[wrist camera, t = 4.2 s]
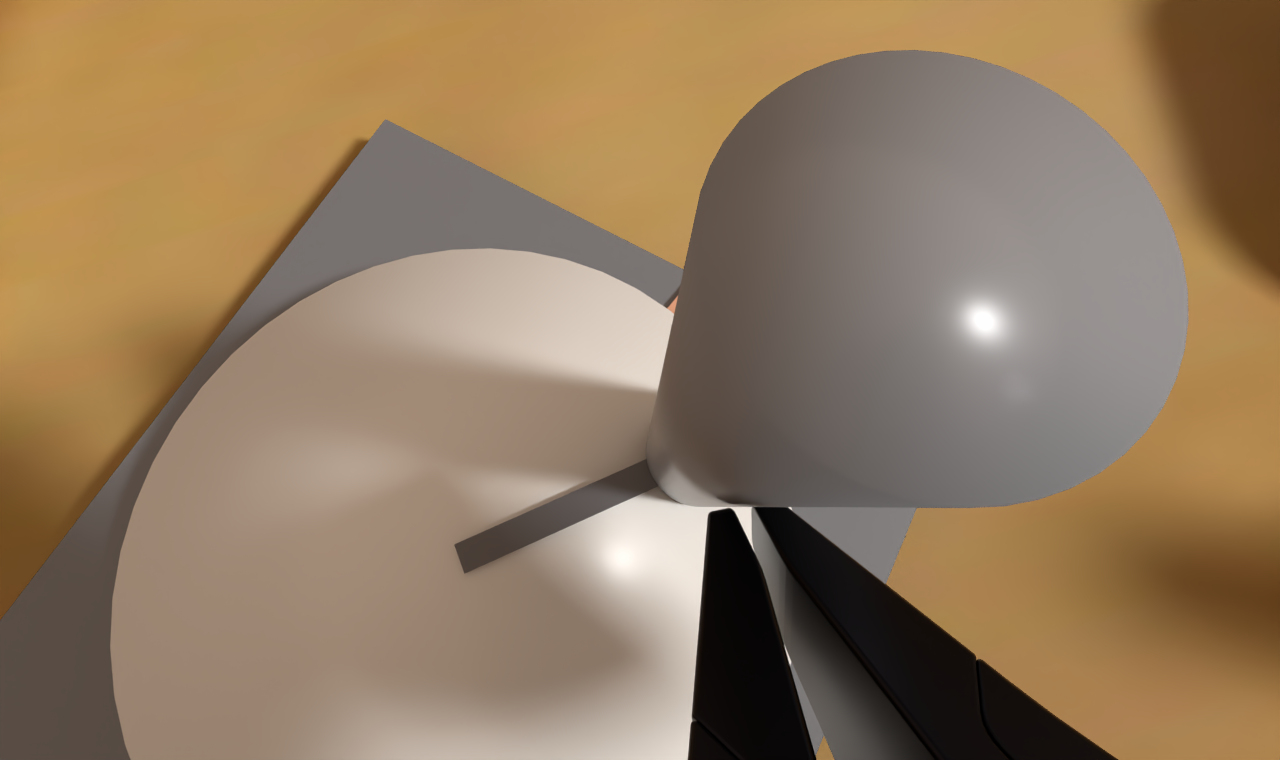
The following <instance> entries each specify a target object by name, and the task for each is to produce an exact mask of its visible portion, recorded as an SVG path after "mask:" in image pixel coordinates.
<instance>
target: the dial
mask: <svg viewBox="0 0 1280 760" xmlns="http://www.w3.org/2000/svg"><path fill="white" fill-rule="evenodd" d="M1187 327H1188V290H1187V283H1186V277H1185V271H1184V265H1183V260H1182V256H1181V253H1180V250H1179V247H1178V243H1177V240H1176V237H1175V233H1174V231H1173V228H1172V226H1171V224H1170V222H1169V219H1168V217H1167V215H1166V213H1165V210H1164V208H1163V206H1162V204H1161V202H1160V200H1159V199H1158V197H1157V195H1156V194H1155V192H1154V190H1153V189H1152V187H1151V185H1150V184H1149V182H1148V180H1147V179H1146V177H1145V176H1144V174H1143V173H1142V172H1141V170H1140V169H1139V168H1138V167H1137V165H1136V164H1135V163H1134V161H1133V160H1132V159H1131V157H1130V156H1129V155H1128V153H1127V152H1126V151H1125V150H1124V149H1123V148H1122V147H1121V146H1120V145H1119V144H1118V143H1117V142H1116V141H1115V140H1114V139H1113V138H1112V137H1111V136H1110V134H1109V133H1108V132H1107V131H1106V130H1105V129H1103V128H1102V127H1101V126H1100V125H1099V124H1097V123H1096V122H1095V121H1094V120H1093V119H1092V118H1090V117H1089V116H1088V115H1087V114H1086V113H1084V112H1083V111H1082V110H1081V109H1079V108H1078V107H1076V106H1075V105H1073V104H1072V103H1070V102H1069V101H1067V100H1066V99H1064V98H1063V97H1062V96H1060V95H1059V94H1057V93H1056V92H1054V91H1052V90H1050V89H1048V88H1046V87H1044V86H1043V85H1041V84H1039V83H1037V82H1035V81H1033V80H1031V79H1030V78H1027V77H1025V76H1022V75H1020V74H1018V73H1015V72H1013V71H1010V70H1008V69H1006V68H1003V67H1001V66H997V65H994V64H991V63H987V62H984V61H981V60H977V59H974V58H969V57H964V56H959V55H954V54H948V53H943V52H930V51H918V50H902V51H882V52H874V53H867V54H860V55H855V56H851V57H847V58H844V59H840V60H836V61H832V62H829V63H827V64H824V65H822V66H819V67H817V68H814V69H812V70H809V71H806V72H804V73H802V74H801V75H799V76H797V77H795V78H793V79H792V80H790V81H788V82H786V83H784V84H783V85H781V86H779V87H778V88H777V89H775V90H774V91H773V92H771V93H770V94H769V95H767V96H766V97H765V98H763V99H762V100H761V101H759V102H758V103H757V104H756V105H755V106H754V107H753V108H752V109H751V110H750V111H749V112H748V113H747V114H746V115H745V116H744V117H743V118H742V119H741V120H740V121H739V122H738V124H737V125H736V126H735V128H734V129H733V130H732V132H731V133H730V134H729V135H728V137H727V138H726V139H725V141H724V142H723V144H722V146H721V147H720V149H719V151H718V153H717V155H716V156H715V158H714V160H713V162H712V164H711V165H710V168H709V171H708V173H707V176H706V179H705V181H704V184H703V187H702V189H701V192H700V197H699V201H698V206H697V210H696V215H695V220H694V224H693V229H692V233H691V238H690V243H689V247H688V252H687V257H686V261H685V266H684V271H683V275H682V280H681V285H680V289H679V294H678V298H677V303H676V308H675V312H674V314H673V313H672V312H671V311H670V310H669V309H667V308H666V307H664V306H662V305H661V304H659V303H658V302H656V301H655V300H653V299H652V298H650V297H649V296H647V295H646V294H644V293H643V292H641V291H640V290H638V289H636V288H634V287H632V286H630V285H628V284H626V283H624V282H622V281H620V280H618V279H616V278H614V277H612V276H610V275H608V274H606V273H604V272H601V271H598V270H596V269H593V268H590V267H587V266H584V265H581V264H578V263H575V262H572V261H569V260H566V259H562V258H557V257H552V256H547V255H543V254H538V253H533V252H527V251H516V250H504V249H492V248H486V249H458V250H446V251H440V252H433V253H427V254H420V255H414V256H410V257H406V258H402V259H399V260H395V261H392V262H388V263H384V264H381V265H377V266H374V267H371V268H369V269H366V270H364V271H361V272H359V273H356V274H354V275H351V276H349V277H346V278H344V279H341V280H339V281H336V282H334V283H333V284H331V285H329V286H327V287H325V288H323V289H321V290H320V291H318V292H316V293H314V294H312V295H310V296H308V297H307V298H305V299H303V300H301V301H299V302H298V303H296V304H295V305H294V306H292V307H291V308H289V309H288V310H286V311H285V312H283V313H282V314H281V315H279V316H278V317H276V318H275V319H273V320H272V321H270V322H269V323H268V324H266V325H265V326H264V327H262V328H261V329H260V330H259V331H258V332H257V333H256V334H254V335H253V336H252V337H251V338H250V339H249V340H247V341H246V342H245V343H244V344H243V345H242V346H241V347H239V348H238V349H237V350H236V351H235V352H234V353H233V354H232V355H231V356H230V357H229V358H228V359H227V360H226V361H225V362H224V363H223V364H222V365H221V367H220V368H219V369H218V370H217V371H216V372H215V373H214V374H213V375H212V376H211V377H210V378H209V380H208V381H207V382H206V383H205V384H204V385H203V386H202V387H201V389H200V390H199V391H198V393H197V394H196V396H195V397H194V398H193V400H192V401H191V402H190V404H189V405H188V406H187V408H186V409H185V411H184V412H183V413H182V415H181V416H180V417H179V419H178V420H177V421H176V423H175V425H174V426H173V428H172V430H171V432H170V433H169V435H168V437H167V439H166V440H165V442H164V444H163V446H162V447H161V449H160V451H159V453H158V454H157V456H156V458H155V460H154V461H153V463H152V465H151V468H150V470H149V472H148V475H147V477H146V479H145V482H144V484H143V486H142V489H141V491H140V493H139V496H138V498H137V500H136V503H135V505H134V508H133V511H132V515H131V518H130V521H129V525H128V528H127V531H126V535H125V538H124V541H123V545H122V548H121V551H120V557H119V563H118V569H117V575H116V581H115V586H114V592H113V598H112V618H111V640H110V651H111V663H112V675H113V687H114V697H115V702H116V706H117V711H118V715H119V720H120V724H121V729H122V733H123V738H124V742H125V746H126V749H127V751H128V754H129V757H130V759H131V760H688V750H689V737H690V725H691V722H692V704H693V692H694V679H695V667H696V655H697V642H698V630H699V617H700V605H701V592H702V580H703V568H704V555H705V543H706V530H707V518H708V514H709V513H710V512H711V511H716V510H721V509H726V508H731V509H733V510H734V511H735V513H736V515H737V517H738V519H739V521H740V523H741V525H742V527H743V529H744V532H745V534H746V536H747V538H748V540H749V542H750V544H751V546H752V548H753V543H752V520H751V509H752V507H788V508H789V509H791V510H792V508H791V507H869V508H976V507H997V506H1008V505H1013V504H1018V503H1024V502H1029V501H1034V500H1039V499H1042V498H1045V497H1047V496H1050V495H1053V494H1056V493H1059V492H1062V491H1065V490H1068V489H1070V488H1072V487H1074V486H1076V485H1078V484H1080V483H1082V482H1084V481H1085V480H1087V479H1089V478H1091V477H1093V476H1095V475H1097V474H1099V473H1100V472H1101V471H1103V470H1104V469H1105V468H1107V467H1108V466H1109V465H1111V464H1112V463H1113V462H1115V461H1116V460H1117V459H1119V458H1120V457H1121V456H1123V455H1124V454H1125V453H1126V452H1127V451H1128V450H1129V449H1130V448H1131V447H1132V446H1133V445H1134V444H1135V443H1136V442H1137V441H1138V440H1139V439H1140V438H1141V436H1142V435H1143V434H1144V433H1145V432H1146V431H1147V430H1148V428H1149V427H1150V425H1151V424H1152V422H1153V421H1154V419H1155V418H1156V417H1157V415H1158V414H1159V412H1160V411H1161V409H1162V408H1163V406H1164V404H1165V402H1166V400H1167V398H1168V396H1169V393H1170V391H1171V389H1172V387H1173V385H1174V383H1175V381H1176V378H1177V375H1178V371H1179V368H1180V364H1181V361H1182V357H1183V354H1184V350H1185V343H1186V335H1187ZM753 550H754V548H753ZM784 646H785V645H784ZM785 650H786V647H785ZM786 653H787V657H788V660H789V664H790V665H791V660H790V657H789V655H788V652H787V650H786Z"/></svg>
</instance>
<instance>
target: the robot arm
mask: <svg viewBox="0 0 1280 760" xmlns="http://www.w3.org/2000/svg"><path fill="white" fill-rule="evenodd" d="M751 520H752V543H753V548H754V550H753V548H752V546H751V544H750V542H749V540H748V538H747V536H746V534H745V532H744V529H743V527H742V525H741V523H740V521H739V519H738V517H737V515H736V513H735V511H734V510H733V509H731V508H726V509H721V510H716V511H711V512H710V513H709V514H708V518H707V530H706V543H705V555H704V568H703V580H702V592H701V605H700V617H699V630H698V642H697V655H696V667H695V679H694V692H693V704H692V722H691V725H690V737H689V750H688V760H816V756H815V753H814V749H813V745H812V742H811V738H810V735H809V731H808V728H807V724H806V721H805V717H804V713H803V710H802V706H801V703H800V699H799V696H798V692H797V689H796V685H795V682H794V678H793V674H792V671H791V667H790V664H789V660H788V657H787V653H786V650H787V652H788V655H789V657H790V660H791V662H792V664H793V666H794V669H795V671H796V673H797V675H798V678H799V680H800V682H801V684H802V687H803V689H804V691H805V693H806V696H807V698H808V700H809V702H810V705H811V707H812V709H813V711H814V714H815V716H816V718H817V720H818V723H819V725H820V727H821V729H822V732H823V734H824V736H825V739H826V741H827V743H828V745H829V748H830V750H831V752H832V754H833V757H834V759H835V760H1118V759H1116V758H1115V757H1114V756H1112V755H1111V754H1109V753H1108V752H1106V751H1105V750H1103V749H1102V748H1100V747H1099V746H1098V745H1096V744H1095V743H1093V742H1092V741H1090V740H1089V739H1088V738H1086V737H1085V736H1083V735H1082V734H1080V733H1079V732H1078V731H1076V730H1075V729H1073V728H1072V727H1070V726H1069V725H1068V724H1066V723H1065V722H1063V721H1062V720H1060V719H1059V718H1058V717H1056V716H1055V715H1053V714H1052V713H1051V712H1049V711H1048V710H1047V709H1045V708H1044V707H1043V706H1041V705H1040V704H1039V703H1038V702H1036V701H1035V700H1034V699H1032V698H1031V697H1030V696H1028V695H1027V694H1026V693H1024V692H1023V691H1022V690H1020V689H1019V688H1018V687H1016V686H1015V685H1014V684H1012V683H1011V682H1010V681H1008V680H1007V679H1006V678H1005V677H1003V676H1002V675H1001V674H1000V673H998V672H997V671H996V670H994V669H993V668H992V667H991V666H989V665H988V664H987V663H986V662H984V661H983V660H981V659H978V660H977V661H976V656H975V654H974V653H973V652H971V651H970V650H969V649H967V648H966V647H965V646H964V645H962V644H961V643H960V642H959V641H957V640H956V639H955V638H953V637H952V636H951V635H950V634H948V633H947V632H946V631H945V630H943V629H942V628H941V627H939V626H938V625H937V624H936V623H934V622H933V621H932V620H931V619H929V618H928V617H927V616H925V615H924V614H923V613H922V612H920V611H919V610H918V609H917V608H915V607H914V606H913V605H911V604H910V603H909V602H908V601H906V600H905V599H904V598H903V597H901V596H900V595H899V594H898V593H896V592H895V591H894V590H892V589H891V588H890V587H889V586H887V585H886V584H885V583H884V582H882V581H881V580H880V579H878V578H877V577H876V576H875V575H873V574H872V573H871V572H870V571H868V570H867V569H866V568H864V567H863V566H862V565H861V564H859V563H858V562H857V561H856V560H854V559H853V558H852V557H850V556H849V555H848V554H847V553H845V552H844V551H843V550H842V549H840V548H839V547H838V546H836V545H835V544H834V543H833V542H831V541H830V540H829V539H828V538H826V537H825V536H824V535H823V534H821V533H820V532H819V531H817V530H816V529H815V528H814V527H812V526H811V525H810V524H809V523H807V522H806V521H805V520H803V519H802V518H801V517H800V516H798V515H797V514H796V513H795V512H793V511H792V510H791V509H789V508H788V507H752V509H751ZM784 645H785V646H784ZM785 647H786V650H785Z"/></svg>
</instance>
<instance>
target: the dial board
mask: <svg viewBox="0 0 1280 760" xmlns="http://www.w3.org/2000/svg"><path fill="white" fill-rule="evenodd" d="M486 248H492V249H504V250H516V251H527V252H533V253H538V254H543V255H547V256H552V257H557V258H562V259H566V260H569V261H572V262H575V263H578V264H581V265H584V266H587V267H590V268H593V269H596V270H598V271H601V272H604V273H606V274H608V275H610V276H612V277H614V278H616V279H618V280H620V281H622V282H624V283H626V284H628V285H630V286H632V287H634V288H636V289H638V290H640V291H641V292H643V293H644V294H646V295H647V296H649V297H650V298H652V299H653V300H655V301H656V302H658V303H659V304H661V305H662V306H664V307H666V308H667V309H669V310H670V311H671V312H672V313H673V314H674V312H675V308H676V303H677V298H678V294H679V289H680V285H681V280H682V275H683V271H684V270H683V269H681V268H679V267H677V266H675V265H673V264H671V263H669V262H667V261H665V260H663V259H662V258H660V257H658V256H656V255H654V254H652V253H650V252H648V251H646V250H644V249H642V248H640V247H638V246H636V245H634V244H632V243H630V242H628V241H626V240H624V239H622V238H620V237H618V236H616V235H614V234H612V233H610V232H608V231H606V230H604V229H602V228H600V227H598V226H596V225H594V224H592V223H590V222H588V221H586V220H584V219H582V218H580V217H578V216H576V215H574V214H572V213H570V212H568V211H566V210H564V209H562V208H560V207H558V206H556V205H554V204H552V203H550V202H548V201H546V200H544V199H542V198H540V197H538V196H537V195H535V194H533V193H531V192H529V191H527V190H525V189H523V188H521V187H519V186H517V185H515V184H513V183H511V182H509V181H507V180H505V179H503V178H501V177H499V176H497V175H495V174H493V173H491V172H489V171H487V170H485V169H483V168H481V167H479V166H477V165H475V164H473V163H471V162H469V161H467V160H465V159H463V158H461V157H459V156H457V155H455V154H453V153H451V152H449V151H447V150H445V149H443V148H441V147H439V146H437V145H435V144H433V143H431V142H429V141H427V140H425V139H423V138H421V137H419V136H417V135H415V134H413V133H411V132H410V131H408V130H406V129H404V128H402V127H400V126H398V125H396V124H394V123H392V122H390V121H388V120H386V119H385V120H384V122H383V123H382V124H381V126H380V127H379V128H378V130H377V131H376V132H375V133H374V135H373V136H372V137H371V139H370V140H369V141H368V143H367V144H366V145H365V146H364V148H363V149H362V150H361V152H360V153H359V154H358V156H357V157H356V158H355V159H354V161H353V162H352V163H351V165H350V166H349V167H348V169H347V170H346V171H345V172H344V174H343V175H342V176H341V178H340V179H339V180H338V182H337V183H336V184H335V185H334V187H333V188H332V189H331V191H330V192H329V193H328V195H327V196H326V197H325V198H324V200H323V201H322V202H321V204H320V205H319V206H318V208H317V209H316V210H315V211H314V213H313V214H312V215H311V217H310V218H309V219H308V221H307V222H306V223H305V225H304V226H303V227H302V228H301V230H300V231H299V232H298V234H297V235H296V236H295V238H294V239H293V240H292V241H291V243H290V244H289V245H288V247H287V248H286V249H285V251H284V252H283V253H282V254H281V256H280V257H279V258H278V260H277V261H276V262H275V264H274V265H273V266H272V267H271V269H270V270H269V271H268V273H267V274H266V275H265V277H264V278H263V279H262V280H261V282H260V283H259V284H258V286H257V287H256V288H255V290H254V291H253V292H252V293H251V295H250V296H249V297H248V299H247V300H246V301H245V303H244V304H243V305H242V306H241V308H240V309H239V310H238V312H237V313H236V314H235V316H234V317H233V318H232V320H231V321H230V322H229V323H228V325H227V326H226V327H225V329H224V330H223V331H222V333H221V334H220V335H219V336H218V338H217V339H216V340H215V342H214V343H213V344H212V346H211V347H210V348H209V349H208V351H207V352H206V353H205V355H204V356H203V357H202V359H201V360H200V361H199V362H198V364H197V365H196V366H195V368H194V369H193V370H192V372H191V373H190V374H189V375H188V377H187V378H186V379H185V381H184V382H183V383H182V385H181V386H180V387H179V388H178V390H177V391H176V392H175V394H174V395H173V396H172V398H171V399H170V400H169V401H168V403H167V404H166V405H165V407H164V408H163V409H162V411H161V412H160V413H159V415H158V416H157V417H156V418H155V420H154V421H153V422H152V424H151V425H150V426H149V428H148V429H147V430H146V431H145V433H144V434H143V435H142V437H141V438H140V439H139V441H138V442H137V443H136V444H135V446H134V447H133V448H132V450H131V451H130V452H129V454H128V455H127V456H126V457H125V459H124V460H123V461H122V463H121V464H120V465H119V467H118V468H117V469H116V470H115V472H114V473H113V474H112V476H111V477H110V478H109V480H108V481H107V482H106V483H105V485H104V486H103V487H102V489H101V490H100V491H99V493H98V494H97V495H96V496H95V498H94V499H93V500H92V502H91V503H90V504H89V506H88V507H87V508H86V510H85V511H84V512H83V513H82V515H81V516H80V517H79V519H78V520H77V521H76V523H75V524H74V525H73V526H72V528H71V529H70V530H69V532H68V533H67V534H66V536H65V537H64V538H63V539H62V541H61V542H60V543H59V545H58V546H57V547H56V549H55V550H54V551H53V552H52V554H51V555H50V556H49V558H48V559H47V560H46V562H45V563H44V564H43V565H42V567H41V568H40V569H39V571H38V572H37V573H36V575H35V576H34V577H33V578H32V580H31V581H30V582H29V584H28V585H27V586H26V588H25V589H24V590H23V591H22V593H21V594H20V595H19V597H18V598H17V599H16V601H15V602H14V603H13V605H12V606H11V607H10V608H9V610H8V611H7V612H6V614H5V615H4V616H3V618H2V619H1V620H0V760H131V759H130V757H129V754H128V751H127V749H126V746H125V742H124V738H123V733H122V729H121V724H120V720H119V715H118V711H117V706H116V702H115V697H114V687H113V675H112V663H111V651H110V640H111V618H112V598H113V592H114V586H115V581H116V575H117V569H118V563H119V557H120V551H121V548H122V545H123V541H124V538H125V535H126V531H127V528H128V525H129V521H130V518H131V515H132V511H133V508H134V505H135V503H136V500H137V498H138V496H139V493H140V491H141V489H142V486H143V484H144V482H145V479H146V477H147V475H148V472H149V470H150V468H151V465H152V463H153V461H154V460H155V458H156V456H157V454H158V453H159V451H160V449H161V447H162V446H163V444H164V442H165V440H166V439H167V437H168V435H169V433H170V432H171V430H172V428H173V426H174V425H175V423H176V421H177V420H178V419H179V417H180V416H181V415H182V413H183V412H184V411H185V409H186V408H187V406H188V405H189V404H190V402H191V401H192V400H193V398H194V397H195V396H196V394H197V393H198V391H199V390H200V389H201V387H202V386H203V385H204V384H205V383H206V382H207V381H208V380H209V378H210V377H211V376H212V375H213V374H214V373H215V372H216V371H217V370H218V369H219V368H220V367H221V365H222V364H223V363H224V362H225V361H226V360H227V359H228V358H229V357H230V356H231V355H232V354H233V353H234V352H235V351H236V350H237V349H238V348H239V347H241V346H242V345H243V344H244V343H245V342H246V341H247V340H249V339H250V338H251V337H252V336H253V335H254V334H256V333H257V332H258V331H259V330H260V329H261V328H262V327H264V326H265V325H266V324H268V323H269V322H270V321H272V320H273V319H275V318H276V317H278V316H279V315H281V314H282V313H283V312H285V311H286V310H288V309H289V308H291V307H292V306H294V305H295V304H296V303H298V302H299V301H301V300H303V299H305V298H307V297H308V296H310V295H312V294H314V293H316V292H318V291H320V290H321V289H323V288H325V287H327V286H329V285H331V284H333V283H334V282H336V281H339V280H341V279H344V278H346V277H349V276H351V275H354V274H356V273H359V272H361V271H364V270H366V269H369V268H371V267H374V266H377V265H381V264H384V263H388V262H392V261H395V260H399V259H402V258H406V257H410V256H414V255H420V254H427V253H433V252H440V251H446V250H458V249H486ZM791 508H792V511H793V512H795V513H796V514H797V515H798V516H800V517H801V518H802V519H803V520H805V521H806V522H807V523H809V524H810V525H811V526H812V527H814V528H815V529H816V530H817V531H819V532H820V533H821V534H823V535H824V536H825V537H826V538H828V539H829V540H830V541H831V542H833V543H834V544H835V545H836V546H838V547H839V548H840V549H842V550H843V551H844V552H845V553H847V554H848V555H849V556H850V557H852V558H853V559H854V560H856V561H857V562H858V563H859V564H861V565H862V566H863V567H864V568H866V569H867V570H868V571H870V572H871V573H872V574H873V575H875V576H876V577H877V578H878V579H880V580H881V581H882V582H884V583H885V584H886V582H887V579H888V577H889V575H890V572H891V570H892V567H893V565H894V562H895V560H896V557H897V555H898V552H899V550H900V548H901V545H902V543H903V540H904V538H905V535H906V533H907V530H908V528H909V526H910V523H911V521H912V518H913V516H914V513H915V511H916V508H869V507H791ZM790 667H791V671H792V674H793V678H794V682H795V685H796V689H797V692H798V696H799V699H800V703H801V706H802V710H803V713H804V717H805V721H806V724H807V728H808V731H809V735H810V738H811V742H812V745H813V749H814V753H815V756H816V753H817V751H818V748H819V746H820V743H821V741H822V739H823V736H824V734H823V732H822V729H821V727H820V725H819V723H818V720H817V718H816V716H815V714H814V711H813V709H812V707H811V705H810V702H809V700H808V698H807V696H806V693H805V691H804V689H803V687H802V684H801V682H800V680H799V678H798V675H797V673H796V671H795V669H794V666H793V664H792V662H791V665H790Z"/></svg>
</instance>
